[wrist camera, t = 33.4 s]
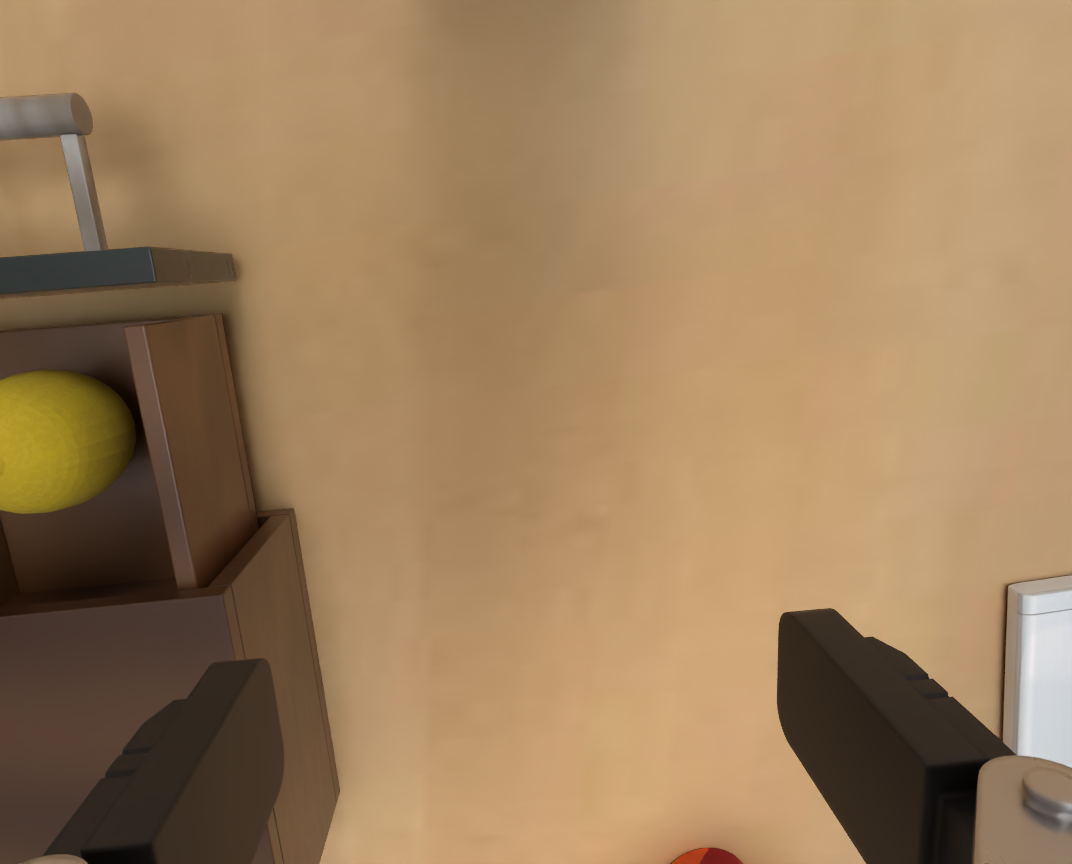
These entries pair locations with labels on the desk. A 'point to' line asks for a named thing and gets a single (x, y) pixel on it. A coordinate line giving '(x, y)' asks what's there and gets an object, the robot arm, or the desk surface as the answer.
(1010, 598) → the hard drive
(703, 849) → the paper cup
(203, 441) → the drawer
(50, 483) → the lemon
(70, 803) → the cabinet
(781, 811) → the desk surface
